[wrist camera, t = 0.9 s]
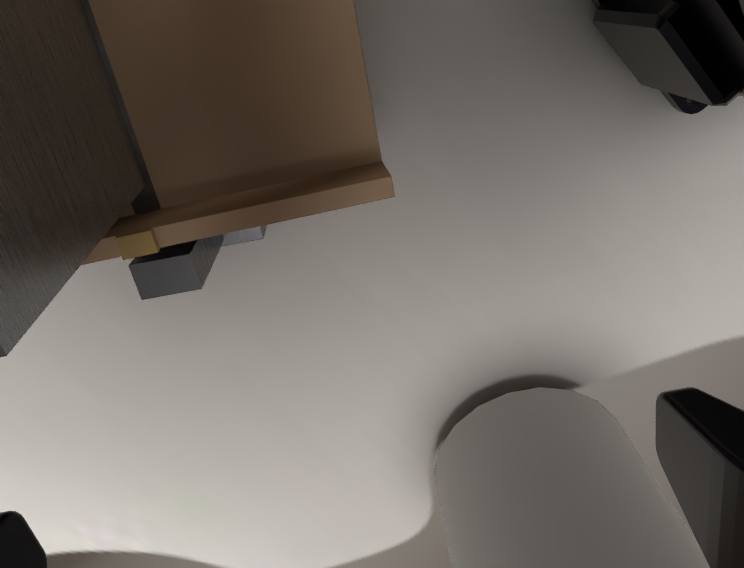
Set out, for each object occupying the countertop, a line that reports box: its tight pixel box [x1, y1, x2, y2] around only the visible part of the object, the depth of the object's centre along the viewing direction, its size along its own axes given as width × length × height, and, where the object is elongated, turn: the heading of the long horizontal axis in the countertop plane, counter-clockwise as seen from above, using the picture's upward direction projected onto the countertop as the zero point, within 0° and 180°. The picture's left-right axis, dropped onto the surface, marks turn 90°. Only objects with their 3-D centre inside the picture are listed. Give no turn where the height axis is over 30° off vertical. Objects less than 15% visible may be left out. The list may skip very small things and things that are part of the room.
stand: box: [129, 225, 266, 300], centre depth 16 cm, size 4×11×4 cm, turn 10°
